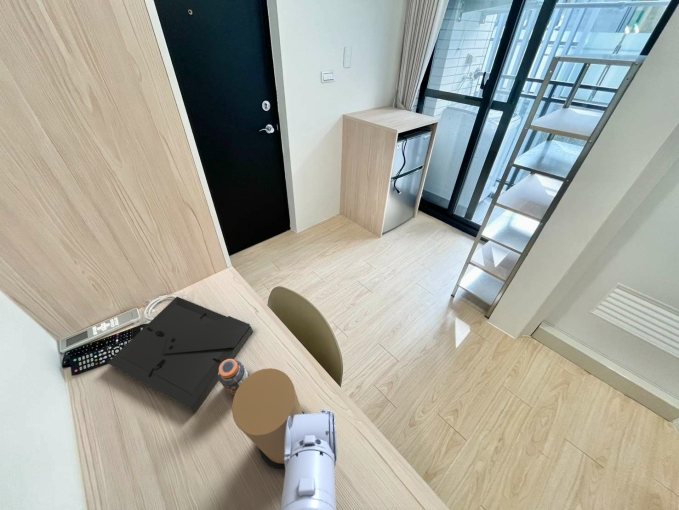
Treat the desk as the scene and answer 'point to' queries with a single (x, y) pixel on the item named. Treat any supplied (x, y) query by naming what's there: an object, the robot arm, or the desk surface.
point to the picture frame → (183, 351)
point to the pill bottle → (232, 375)
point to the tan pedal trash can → (266, 410)
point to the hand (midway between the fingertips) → (320, 466)
